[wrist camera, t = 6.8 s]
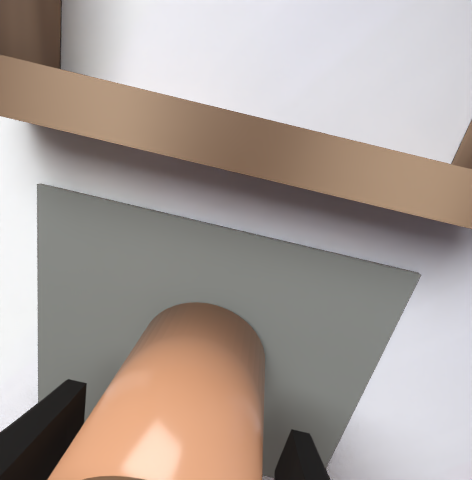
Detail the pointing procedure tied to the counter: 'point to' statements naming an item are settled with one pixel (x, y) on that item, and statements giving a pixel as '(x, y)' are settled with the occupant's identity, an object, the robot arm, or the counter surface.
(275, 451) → the slate mat
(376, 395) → the counter surface
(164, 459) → the peach orange cylinder
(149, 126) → the potting tray
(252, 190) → the counter surface
